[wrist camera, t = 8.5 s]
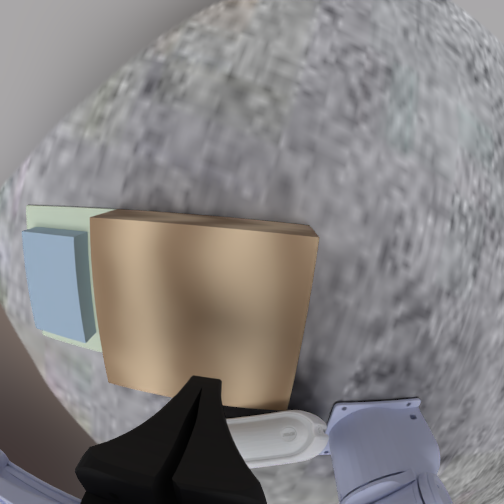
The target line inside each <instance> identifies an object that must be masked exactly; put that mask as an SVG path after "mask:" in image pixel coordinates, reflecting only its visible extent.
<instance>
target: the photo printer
mask: <svg viewBox="0 0 504 504" xmlns="http://www.w3.org/2000/svg"><path fill="white" fill-rule="evenodd" d="M226 421H227V425H228V428H229V430H230V433H231V435H232V438H233V440H234V442H235V445H236V447H237V449H238V451H239V452H240V454H241V456H242V458H243V459H244V461H245V463H246V464H247V466H248V467H249V468H258V467H266V466H274V465H281V464H288V463H294V462H300V461H305V460H309V459H311V458H313V457H315V456H317V455H318V454H319V453H321V452H322V451H323V449H324V448H325V447H326V445H327V443H328V440H329V437H328V435H327V434H325V433H324V432H326V430H327V425H326V424H325V422H324V421H323V420H322V419H321V418H319V417H318V416H316V415H314V414H312V413H309V412H306V411H302V410H287V411H280V412H274V413H268V414H261V415H254V416H246V417H238V418H229V419H226Z"/></svg>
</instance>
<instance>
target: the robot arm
mask: <svg viewBox="0 0 504 504" xmlns="http://www.w3.org/2000/svg"><path fill="white" fill-rule="evenodd" d="M221 392H222V381H221V380H220V379H216V378H208V377H201V376H195V375H193V376H191V377H190V379H189V380H188V381H187V383H186V384H185V385H184V386H183V388H182V389H181V390H180V391H179V392H178V393H177V394H176V395H175V396H174V397H173V398H172V399H171V400H170V401H169V402H168V403H167V404H166V405H165V406H164V407H163V408H162V409H161V410H160V411H158V412H157V413H156V414H155V415H154V416H152V417H151V418H150V419H148V420H147V421H145V422H144V423H143V424H141V425H139V426H138V427H136V428H134V429H133V430H131V431H129V432H127V433H125V434H123V435H121V436H119V437H117V438H115V439H112V440H110V441H107V442H104V443H101V444H98V445H95V446H92V447H90V448H89V449H88V450H87V451H86V452H85V454H84V455H83V456H82V458H81V460H80V462H79V463H78V465H77V467H76V469H75V473H76V475H77V477H78V479H79V481H80V482H81V484H82V485H83V487H84V488H85V490H86V492H85V495H84V497H83V499H82V500H81V499H78V498H76V497H74V496H72V495H69V494H67V493H65V492H63V491H61V490H59V489H57V488H55V487H53V486H51V485H49V484H47V483H46V482H43V481H42V480H40V479H38V478H36V477H34V476H33V475H31V474H29V473H28V472H26V471H24V470H23V469H21V468H20V467H18V466H16V465H15V464H13V463H12V462H10V461H9V460H8V458H7V456H6V455H5V454H4V453H3V451H1V449H0V504H267V502H266V498H265V495H264V492H263V489H262V487H261V484H260V482H259V481H258V480H257V478H256V477H255V476H254V474H253V473H252V472H251V470H250V469H249V467H248V466H247V464H246V463H245V461H244V459H243V458H242V456H241V454H240V452H239V451H238V449H237V447H236V445H235V442H234V440H233V438H232V435H231V433H230V430H229V428H228V425H227V421H226V418H225V414H224V410H223V405H222V398H221ZM420 403H421V400H420V399H419V398H413V399H403V400H391V401H376V402H352V403H337V404H335V405H334V407H333V409H332V412H331V415H330V418H329V420H328V423H327V430H326V432H324V433H325V434H327V435H328V437H329V440H328V443H327V445H326V447H325V448H324V449H323V451H322V452H321V453H319V455H331V458H332V463H333V469H334V474H335V480H336V486H337V492H338V498H339V504H453V502H452V500H451V498H450V495H449V493H448V491H447V490H446V488H445V486H444V484H443V483H442V481H441V480H440V479H439V477H438V476H437V473H438V470H439V466H440V451H439V447H438V444H437V442H436V440H435V438H434V436H433V434H432V432H431V430H430V428H429V426H428V424H427V423H426V421H425V419H424V417H423V415H422V413H421V411H420V410H419V408H418V407H419V405H420ZM343 407H345V408H343Z"/></svg>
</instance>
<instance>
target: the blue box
mask: <svg viewBox="0 0 504 504" xmlns="http://www.w3.org/2000/svg"><path fill="white" fill-rule="evenodd" d="M22 239H23V251H24V260H25V269H26V276H27V283H28V289H29V295H30V301H31V306H32V311H33V316H34V321H35V325H36V328H38V329H41V330H44V331H47V332H50V333H53V334H56V335H59V336H62V337H66V338H69V339H73V340H76V341H79V342H83V343H87V342H88V341H89V339H90V338H91V337H92V336H93V335H94V334H95V333H96V326H95V319H94V311H93V303H92V294H91V283H90V271H89V256H88V232H85V231H75V230H65V229H55V228H45V227H34V228H31V229H27V230H24V231H22Z"/></svg>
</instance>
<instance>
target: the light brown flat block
mask: <svg viewBox="0 0 504 504" xmlns="http://www.w3.org/2000/svg"><path fill="white" fill-rule="evenodd" d="M318 243H319V237H318V235H317V234H316V233H315V232H314V230H313V229H312V228H311V227H310V226H309V225H301V224H292V223H282V222H273V221H263V220H252V219H242V218H231V217H219V216H208V215H195V214H183V213H169V212H155V211H140V210H124V209H116V210H113V211H109V212H106V213H102V214H99V215H96V216H92V217H90V247H91V264H92V277H93V288H94V298H95V306H96V314H97V322H98V328H99V335H100V341H101V347H102V352H103V358H104V363H105V368H106V373H107V377H108V382H109V383H112V384H116V385H120V386H124V387H128V388H132V389H136V390H140V391H144V392H149V393H154V394H158V395H163V396H168V397H174V396H175V395H176V394H177V393H178V392H179V391H180V390H181V389H182V388H183V386H184V385H185V384H186V383H187V381H188V380H189V379H190V377H191V376H193V375H195V376H201V377H208V378H216V379H220V380H221V381H222V392H221V398H222V405H225V406H233V407H242V408H253V409H265V410H281V411H287V408H288V404H289V400H290V396H291V391H292V387H293V382H294V378H295V373H296V368H297V363H298V359H299V354H300V349H301V344H302V338H303V333H304V328H305V323H306V317H307V312H308V306H309V300H310V294H311V288H312V282H313V276H314V270H315V263H316V257H317V250H318Z"/></svg>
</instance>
